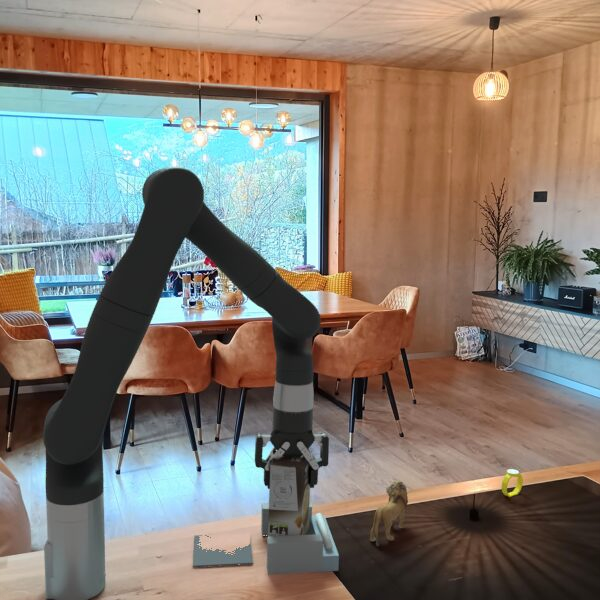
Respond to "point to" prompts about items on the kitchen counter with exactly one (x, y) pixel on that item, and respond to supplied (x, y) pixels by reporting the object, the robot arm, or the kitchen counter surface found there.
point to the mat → (220, 556)
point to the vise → (301, 547)
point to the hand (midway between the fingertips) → (290, 486)
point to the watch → (506, 479)
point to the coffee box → (289, 497)
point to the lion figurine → (391, 510)
